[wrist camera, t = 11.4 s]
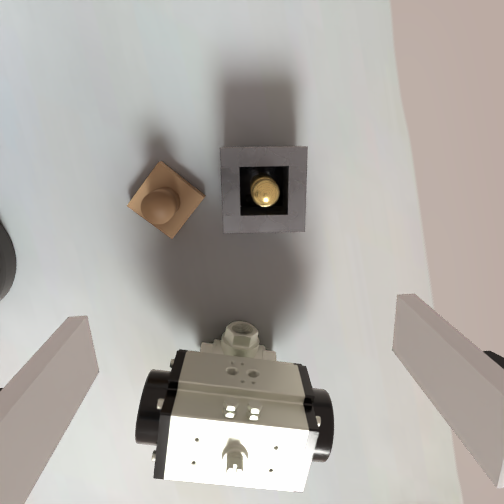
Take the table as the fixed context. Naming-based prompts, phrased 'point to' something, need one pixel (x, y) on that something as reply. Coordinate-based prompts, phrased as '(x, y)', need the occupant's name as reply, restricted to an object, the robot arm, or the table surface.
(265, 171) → the door knob
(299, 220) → the grey square box
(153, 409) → the ball valve
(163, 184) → the brown knob on base
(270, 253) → the table surface
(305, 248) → the table surface
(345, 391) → the table surface
